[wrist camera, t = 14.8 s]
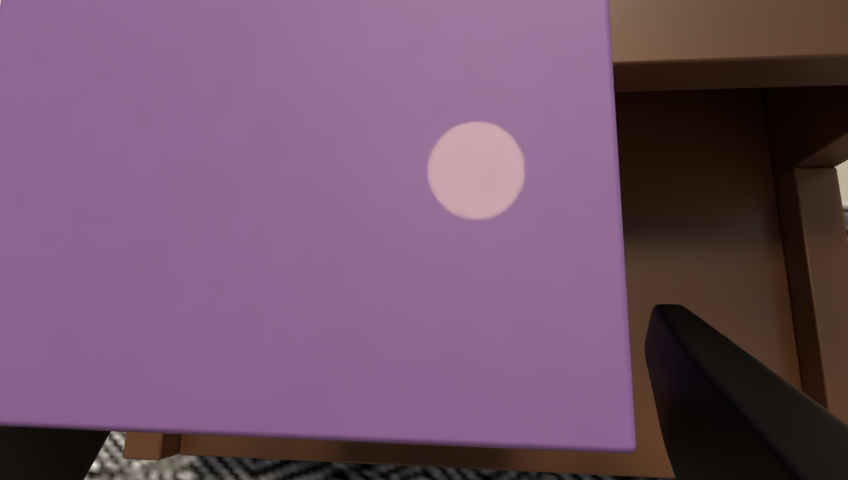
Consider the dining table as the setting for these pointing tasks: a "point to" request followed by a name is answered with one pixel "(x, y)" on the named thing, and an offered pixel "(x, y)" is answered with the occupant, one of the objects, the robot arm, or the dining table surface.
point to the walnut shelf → (693, 216)
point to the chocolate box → (314, 221)
